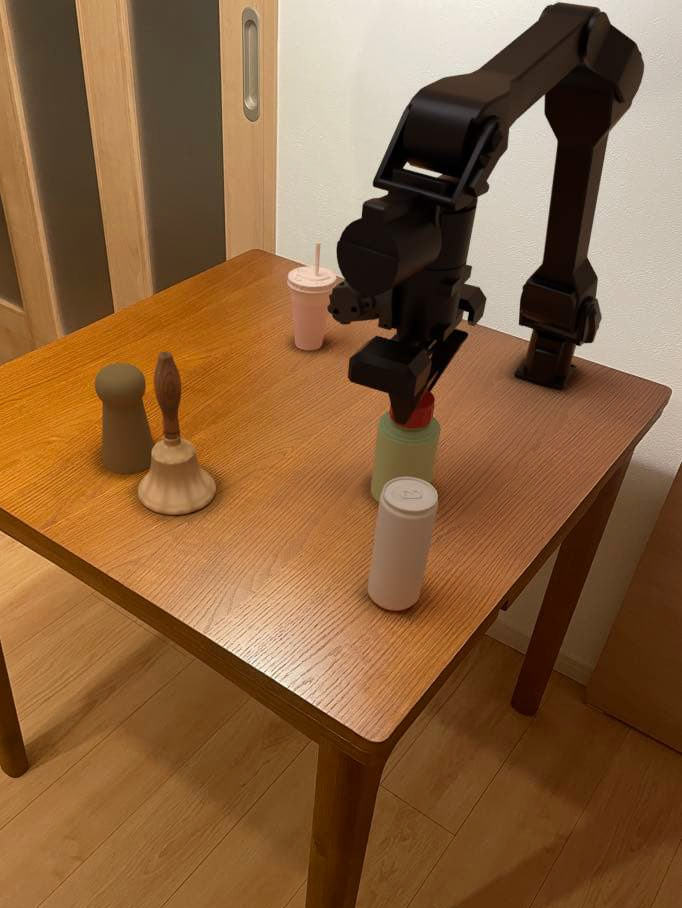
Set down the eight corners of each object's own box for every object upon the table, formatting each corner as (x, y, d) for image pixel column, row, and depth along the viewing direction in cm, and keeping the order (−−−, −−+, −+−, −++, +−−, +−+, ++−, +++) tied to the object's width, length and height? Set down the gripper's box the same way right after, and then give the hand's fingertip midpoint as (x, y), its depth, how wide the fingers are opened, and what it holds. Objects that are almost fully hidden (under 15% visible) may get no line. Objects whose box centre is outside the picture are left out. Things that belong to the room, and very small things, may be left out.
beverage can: (362, 577, 75) (376, 476, 67) (412, 575, 76) (432, 474, 68) (371, 615, 72) (386, 512, 64) (424, 613, 72) (446, 510, 64)
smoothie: (327, 357, 107) (335, 254, 97) (281, 352, 108) (283, 249, 98) (335, 335, 111) (342, 235, 102) (289, 330, 112) (293, 230, 103)
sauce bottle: (385, 466, 88) (396, 378, 81) (438, 485, 86) (454, 396, 78) (360, 497, 84) (370, 408, 77) (414, 517, 82) (429, 427, 74)
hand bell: (121, 496, 84) (102, 360, 73) (172, 458, 89) (161, 326, 78) (182, 526, 80) (172, 388, 70) (231, 485, 86) (229, 350, 75)
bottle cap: (381, 413, 79) (383, 394, 77) (412, 400, 81) (414, 381, 79) (409, 434, 77) (412, 414, 75) (440, 420, 78) (443, 400, 77)
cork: (165, 448, 90) (158, 361, 83) (141, 478, 86) (131, 389, 79) (117, 437, 92) (106, 351, 84) (91, 466, 87) (77, 378, 80)
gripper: (390, 205, 77) (374, 351, 87) (297, 274, 65) (291, 434, 75) (502, 229, 73) (471, 379, 83) (425, 307, 61) (400, 471, 71)
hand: (409, 412), depth 78 cm, fingers closed on bottle cap, 4 cm apart
